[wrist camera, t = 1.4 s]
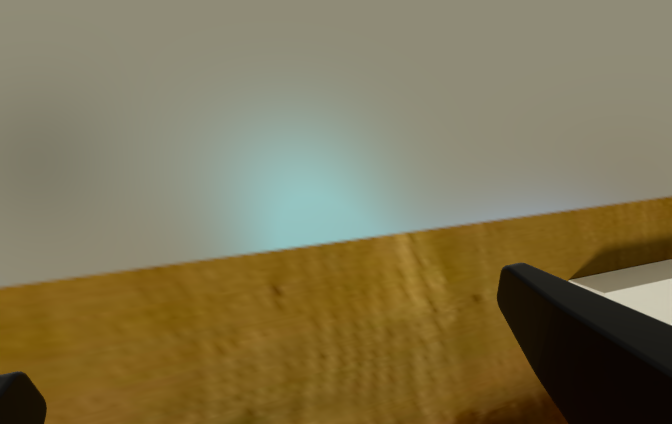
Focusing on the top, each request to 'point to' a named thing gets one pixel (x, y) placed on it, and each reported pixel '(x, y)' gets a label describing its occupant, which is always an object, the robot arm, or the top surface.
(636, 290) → the block
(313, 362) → the top surface
